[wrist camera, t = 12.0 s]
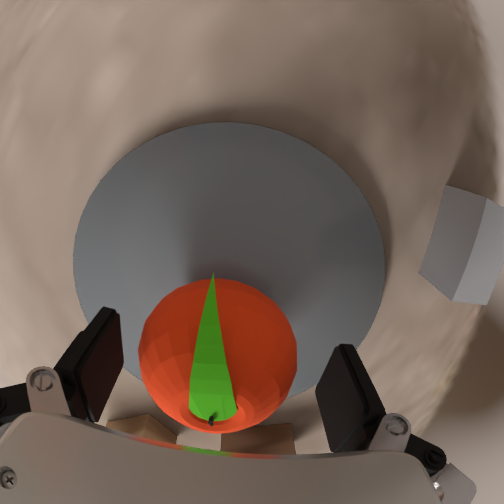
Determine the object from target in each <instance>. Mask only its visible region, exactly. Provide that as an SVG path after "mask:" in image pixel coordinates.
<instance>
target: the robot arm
mask: <svg viewBox="0 0 504 504" xmlns="http://www.w3.org/2000/svg"><path fill="white" fill-rule="evenodd" d="M123 364H124V355H123V346H122V335H121V323H120V314H119V313H117V312H116V310H115V309H112V308H108V307H105V306H103V307H102V308H101V309H100V310H99V312H98V313H97V314H96V316H95V317H94V318H93V320H92V321H91V322H90V323H89V325H88V326H87V327H86V329H85V330H84V331H81V332H80V333H79V334H78V335H77V336H76V338H75V339H74V340H73V342H72V343H71V345H70V346H69V347H68V349H67V350H66V351H65V353H64V354H63V356H62V357H61V358H60V360H59V361H58V363H57V364H56V365H55V367H54V368H53V369H52V368H50V367H45V366H43V367H37V368H34V369H33V370H31V371H30V372H29V373H28V375H27V378H26V383H22V384H18V385H14V386H9V387H4V388H0V504H470V503H471V501H472V500H473V498H474V496H475V494H476V485H475V483H474V482H473V481H472V480H471V479H470V478H468V477H467V476H466V475H465V474H463V473H462V472H461V471H460V470H459V469H457V468H456V467H455V466H454V465H453V464H451V463H449V464H447V463H446V455H445V453H444V451H443V450H442V449H440V448H439V447H437V446H435V445H433V444H431V443H429V442H427V441H424V440H423V439H421V438H419V437H417V436H415V435H413V434H411V425H410V423H409V421H408V420H407V419H406V418H405V417H404V416H402V415H400V414H397V413H390V414H386V412H385V408H384V406H383V404H382V402H381V400H380V398H379V396H378V394H377V391H376V389H375V387H374V385H373V383H372V381H371V379H370V377H369V375H368V373H367V371H366V369H365V367H364V365H363V363H362V361H361V359H360V357H359V355H358V353H357V351H356V349H355V347H354V346H353V344H339V345H338V346H336V347H335V348H334V350H333V352H332V355H331V357H330V359H329V361H328V363H327V366H326V368H325V370H324V372H323V374H322V376H321V378H320V380H319V382H318V384H317V386H316V390H315V394H316V398H317V402H318V405H319V409H320V413H321V417H322V420H323V424H324V428H325V432H326V436H327V439H328V443H329V447H330V450H331V452H334V453H324V454H302V455H271V454H248V453H235V452H224V451H215V450H207V449H200V448H194V447H187V446H182V445H176V444H171V443H166V442H161V441H157V440H152V439H148V438H144V437H140V436H136V435H132V434H129V433H125V432H121V431H118V430H114V429H111V428H108V427H104V426H101V425H98V424H95V423H94V422H98V421H99V419H100V416H101V414H102V412H103V409H104V407H105V405H106V403H107V400H108V398H109V396H110V394H111V391H112V389H113V387H114V385H115V383H116V380H117V378H118V376H119V374H120V372H121V370H122V367H123Z"/></svg>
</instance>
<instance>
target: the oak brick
mask: <svg viewBox="0 0 504 504" xmlns="http://www.w3.org/2000/svg"><path fill="white" fill-rule="evenodd" d="M106 427H108V428H111V429H114V430H118V431H121V432H125V433H129V434H132V435H136V436H140V437H144V438H148V439H152V440H157V441H161V442H166V443H171V444H176V440H177V436H176V435H175V434H174V433H173V432H171V431H170V430H169V429H167V428H166V427H165V426H164V425H162V424H161V423H160V422H159V421H157V420H156V419H155V418H154V417H153V416H151V415H150V414H145V415H141V416H136V417H131V418H125V419H120V420H114V421H108V422H107V424H106Z"/></svg>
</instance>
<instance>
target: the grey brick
mask: <svg viewBox="0 0 504 504" xmlns="http://www.w3.org/2000/svg"><path fill="white" fill-rule="evenodd" d="M503 264H504V207H502V206H500V205H499V204H497V203H495V202H494V201H492V200H490V199H489V198H487V197H484V196H481V195H478V194H474V193H471V192H468V191H465V190H462V189H458V188H455V187H452V186H448V185H445V189H444V193H443V197H442V201H441V205H440V209H439V212H438V216H437V219H436V223H435V226H434V229H433V233H432V236H431V239H430V242H429V245H428V248H427V251H426V254H425V257H424V259H423V262H422V265H421V268H420V270H419V274H421V275H422V276H423V277H424V278H425V279H427V280H428V281H429V282H430V283H431V284H432V285H434V286H435V287H436V288H437V289H438V290H439V291H441V292H442V293H443V294H444V295H445V296H446V297H447V298H448V299H450V300H451V301H453V302H462V303H471V304H481V305H487V303H488V300H489V298H490V296H491V294H492V291H493V289H494V287H495V284H496V282H497V279H498V277H499V274H500V272H501V269H502V266H503Z"/></svg>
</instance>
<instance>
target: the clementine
mask: <svg viewBox="0 0 504 504" xmlns="http://www.w3.org/2000/svg"><path fill="white" fill-rule="evenodd" d="M138 356H139V365H140V371H141V377H142V380H143V382H144V384H145V386H146V388H147V390H148V392H149V394H150V395H151V397H152V398H153V400H154V401H155V403H156V404H157V405H158V406H159V407H160V408H161V409H162V410H163V412H165V413H166V414H167V415H169V416H170V417H172V418H173V419H175V420H176V421H178V422H180V423H181V424H183V425H185V426H187V427H190V428H192V429H195V430H198V431H202V432H208V433H230V432H236V431H240V430H243V429H246V428H248V427H251V426H254V425H256V424H259V423H260V422H262V421H263V420H265V419H266V418H268V417H269V416H270V415H271V414H272V413H273V412H274V411H275V410H276V409H277V408H278V407H279V406H280V405H281V403H282V402H283V401H284V400H285V399H286V398H287V396H288V393H289V391H290V388H291V386H292V383H293V380H294V378H295V375H296V372H297V341H296V339H295V336H294V333H293V331H292V328H291V326H290V324H289V322H288V320H287V318H286V316H285V314H284V313H283V312H282V311H281V309H280V308H279V307H278V306H277V304H276V303H275V302H274V301H273V300H271V299H270V298H269V297H267V296H266V295H264V294H263V293H262V292H260V291H259V290H257V289H255V288H254V287H252V286H249V285H246V284H244V283H241V282H239V281H235V280H228V279H222V278H215V279H214V272H213V276H212V279H203V280H199V281H196V282H193V283H190V284H187V285H184V286H181V287H178V288H176V289H175V290H174V291H172V292H171V293H169V294H168V295H166V296H165V297H164V298H163V299H162V300H161V301H160V302H159V303H158V305H157V306H156V307H155V308H154V310H153V311H152V312H151V314H150V315H149V317H148V318H147V319H146V321H145V324H144V327H143V331H142V334H141V338H140V342H139V347H138Z"/></svg>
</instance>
